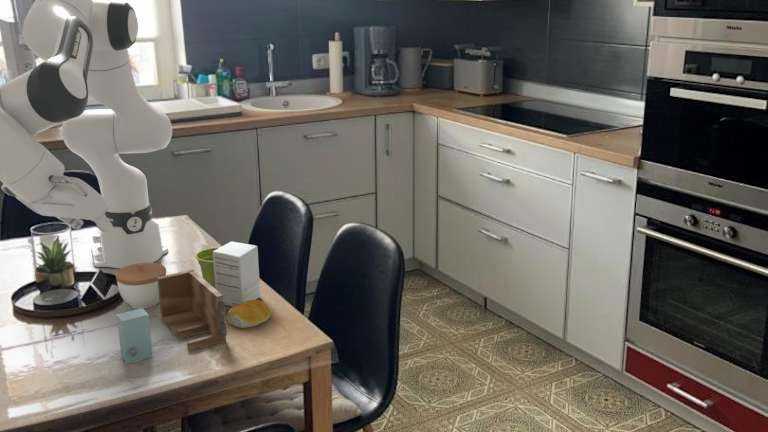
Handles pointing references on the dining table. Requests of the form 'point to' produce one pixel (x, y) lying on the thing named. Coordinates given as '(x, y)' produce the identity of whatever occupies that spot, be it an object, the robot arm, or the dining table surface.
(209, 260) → the plant pot
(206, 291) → the carcass
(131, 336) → the pale teal box
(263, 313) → the bread roll
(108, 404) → the dining table surface
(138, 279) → the lidded jar
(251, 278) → the supplement box
